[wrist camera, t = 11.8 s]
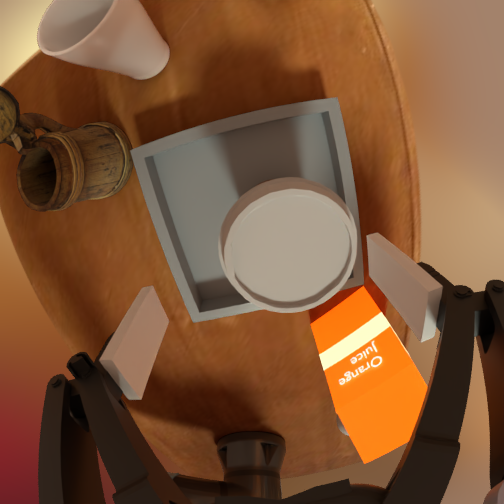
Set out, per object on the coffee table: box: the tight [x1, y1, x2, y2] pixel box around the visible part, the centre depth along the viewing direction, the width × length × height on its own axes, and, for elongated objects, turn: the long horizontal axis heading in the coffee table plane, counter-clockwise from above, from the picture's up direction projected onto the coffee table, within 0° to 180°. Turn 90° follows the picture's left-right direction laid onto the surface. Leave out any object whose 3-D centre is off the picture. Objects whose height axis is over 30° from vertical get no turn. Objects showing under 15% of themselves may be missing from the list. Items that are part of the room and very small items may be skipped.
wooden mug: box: [0, 86, 133, 212], centre depth 17 cm, size 9×14×18 cm, turn 22°
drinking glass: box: [37, 0, 170, 80], centre depth 15 cm, size 7×7×15 cm
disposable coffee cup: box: [218, 177, 357, 313], centre depth 22 cm, size 10×10×12 cm
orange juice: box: [311, 286, 428, 464], centre depth 26 cm, size 8×9×20 cm
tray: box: [130, 97, 364, 323], centre depth 27 cm, size 20×20×4 cm
